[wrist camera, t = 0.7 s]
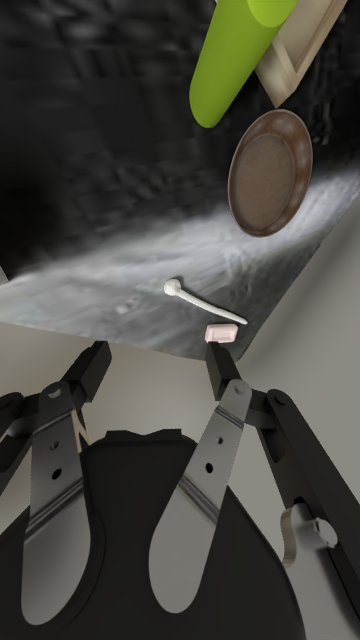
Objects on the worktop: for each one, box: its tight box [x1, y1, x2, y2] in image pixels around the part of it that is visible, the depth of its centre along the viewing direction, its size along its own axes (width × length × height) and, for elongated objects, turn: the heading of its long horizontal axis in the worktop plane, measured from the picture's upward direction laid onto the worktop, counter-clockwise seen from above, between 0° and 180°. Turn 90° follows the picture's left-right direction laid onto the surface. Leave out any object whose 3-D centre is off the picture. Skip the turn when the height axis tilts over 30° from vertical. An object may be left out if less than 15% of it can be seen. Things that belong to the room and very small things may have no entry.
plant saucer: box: [228, 109, 313, 238], centre depth 28 cm, size 18×18×3 cm
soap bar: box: [205, 324, 238, 343], centre depth 44 cm, size 5×9×2 cm, turn 84°
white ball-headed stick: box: [164, 279, 247, 324], centre depth 39 cm, size 28×4×3 cm, turn 63°
